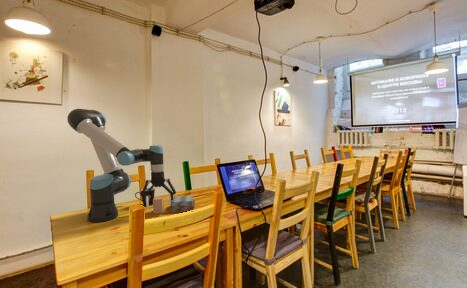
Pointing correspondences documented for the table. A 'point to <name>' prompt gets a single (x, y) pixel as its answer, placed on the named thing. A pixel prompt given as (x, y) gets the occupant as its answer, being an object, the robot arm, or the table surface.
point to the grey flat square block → (182, 204)
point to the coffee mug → (150, 196)
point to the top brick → (158, 205)
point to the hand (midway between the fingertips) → (159, 206)
